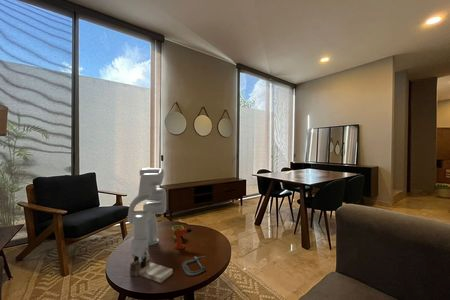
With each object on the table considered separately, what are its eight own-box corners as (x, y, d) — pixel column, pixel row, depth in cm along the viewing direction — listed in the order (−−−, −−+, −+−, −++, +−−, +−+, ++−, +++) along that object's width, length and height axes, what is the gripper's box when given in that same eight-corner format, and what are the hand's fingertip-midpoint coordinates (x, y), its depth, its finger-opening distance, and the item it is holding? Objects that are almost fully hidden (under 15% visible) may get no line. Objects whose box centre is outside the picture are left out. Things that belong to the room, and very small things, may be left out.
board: (129, 271, 130) (129, 267, 130) (142, 263, 139) (142, 259, 139) (160, 282, 120) (160, 278, 120) (172, 273, 129) (172, 269, 129)
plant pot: (172, 241, 173) (173, 230, 173) (170, 236, 181) (171, 226, 181) (184, 239, 177) (184, 228, 176) (182, 235, 185) (182, 224, 185)
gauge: (130, 274, 127) (130, 262, 127) (143, 266, 136) (143, 254, 136) (136, 276, 125) (136, 264, 124) (149, 268, 134) (149, 256, 133)
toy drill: (199, 246, 160) (197, 226, 160) (174, 250, 159) (171, 230, 159) (200, 243, 165) (197, 224, 165) (175, 247, 164) (172, 227, 164)
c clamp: (179, 261, 144) (180, 257, 144) (205, 257, 149) (205, 253, 149) (184, 278, 125) (184, 273, 125) (213, 273, 130) (213, 268, 130)
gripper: (124, 235, 130) (124, 265, 130) (145, 240, 122) (145, 273, 123) (134, 231, 137) (134, 259, 137) (155, 236, 129) (155, 266, 129)
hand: (139, 265), depth 130 cm, fingers closed on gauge, 5 cm apart
